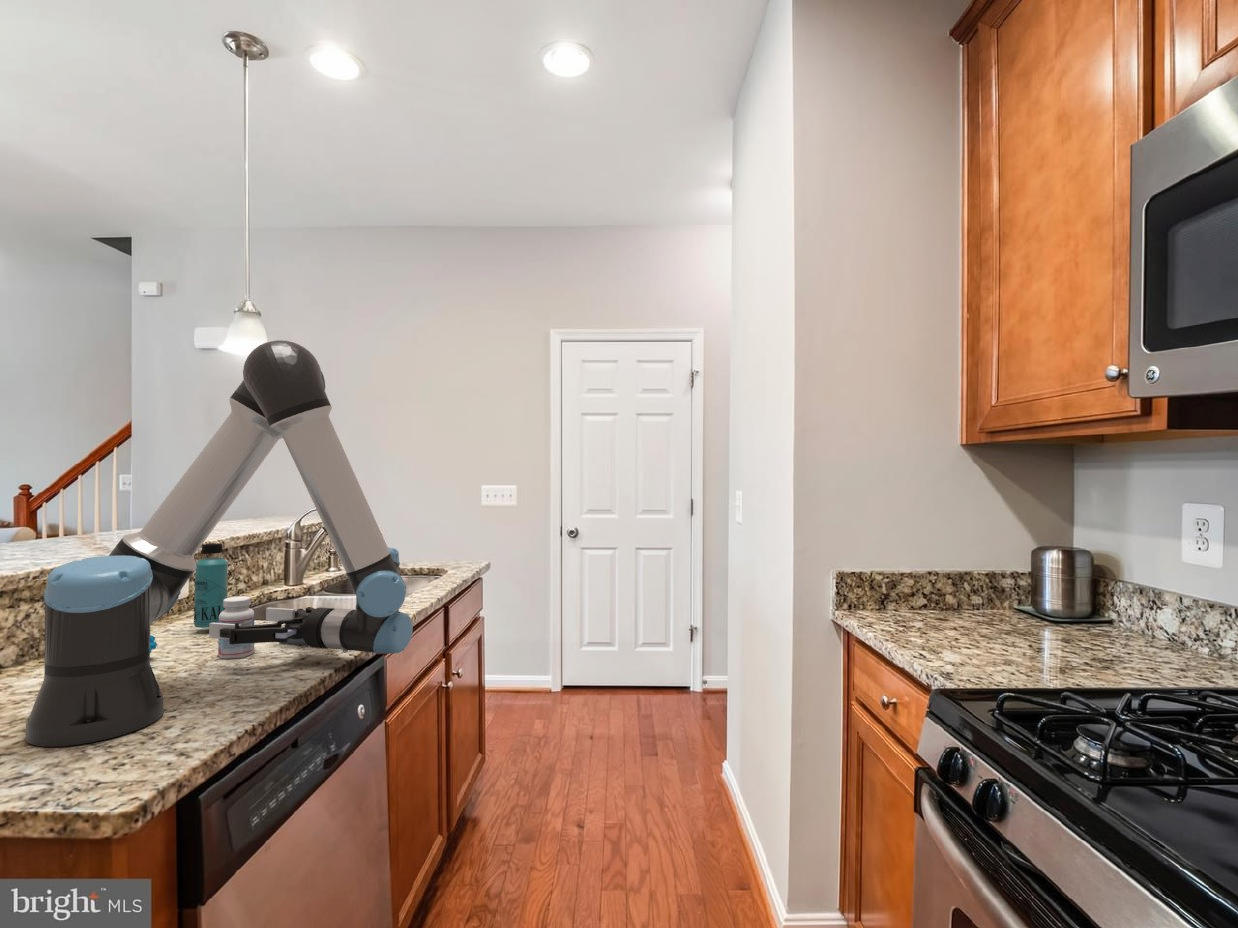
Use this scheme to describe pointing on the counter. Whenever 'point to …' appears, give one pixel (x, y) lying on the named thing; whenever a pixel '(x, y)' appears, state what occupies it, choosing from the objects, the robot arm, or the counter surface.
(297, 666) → the counter surface
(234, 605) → the pill bottle
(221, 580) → the beverage bottle
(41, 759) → the counter surface
